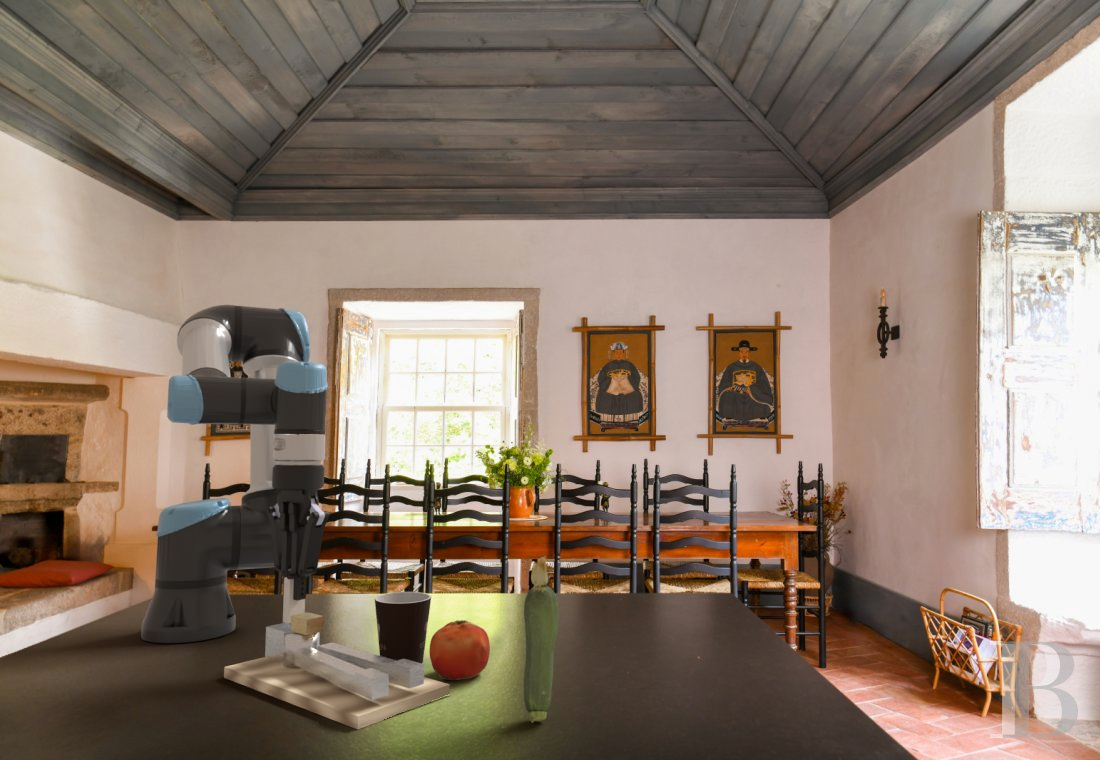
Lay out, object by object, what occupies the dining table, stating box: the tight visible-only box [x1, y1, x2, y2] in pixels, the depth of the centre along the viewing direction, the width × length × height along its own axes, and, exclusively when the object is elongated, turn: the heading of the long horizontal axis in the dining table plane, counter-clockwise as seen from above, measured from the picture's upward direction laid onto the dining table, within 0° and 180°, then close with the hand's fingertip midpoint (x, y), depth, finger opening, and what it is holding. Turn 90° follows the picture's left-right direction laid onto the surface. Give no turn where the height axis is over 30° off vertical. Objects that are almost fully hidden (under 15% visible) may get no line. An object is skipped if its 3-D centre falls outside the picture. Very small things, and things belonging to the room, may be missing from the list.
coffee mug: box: [374, 591, 432, 664], centre depth 116 cm, size 12×9×10 cm
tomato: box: [429, 619, 491, 681], centre depth 108 cm, size 9×9×8 cm
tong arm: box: [295, 648, 389, 700], centre depth 99 cm, size 20×2×2 cm, turn 46°
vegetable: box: [523, 555, 560, 724], centre depth 92 cm, size 4×4×20 cm
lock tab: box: [290, 611, 324, 635], centre depth 109 cm, size 4×3×2 cm
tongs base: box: [264, 622, 425, 689], centre depth 104 cm, size 30×5×4 cm, turn 52°
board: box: [223, 656, 451, 730], centre depth 103 cm, size 31×15×2 cm, turn 52°
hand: (293, 620), depth 111 cm, fingers closed
